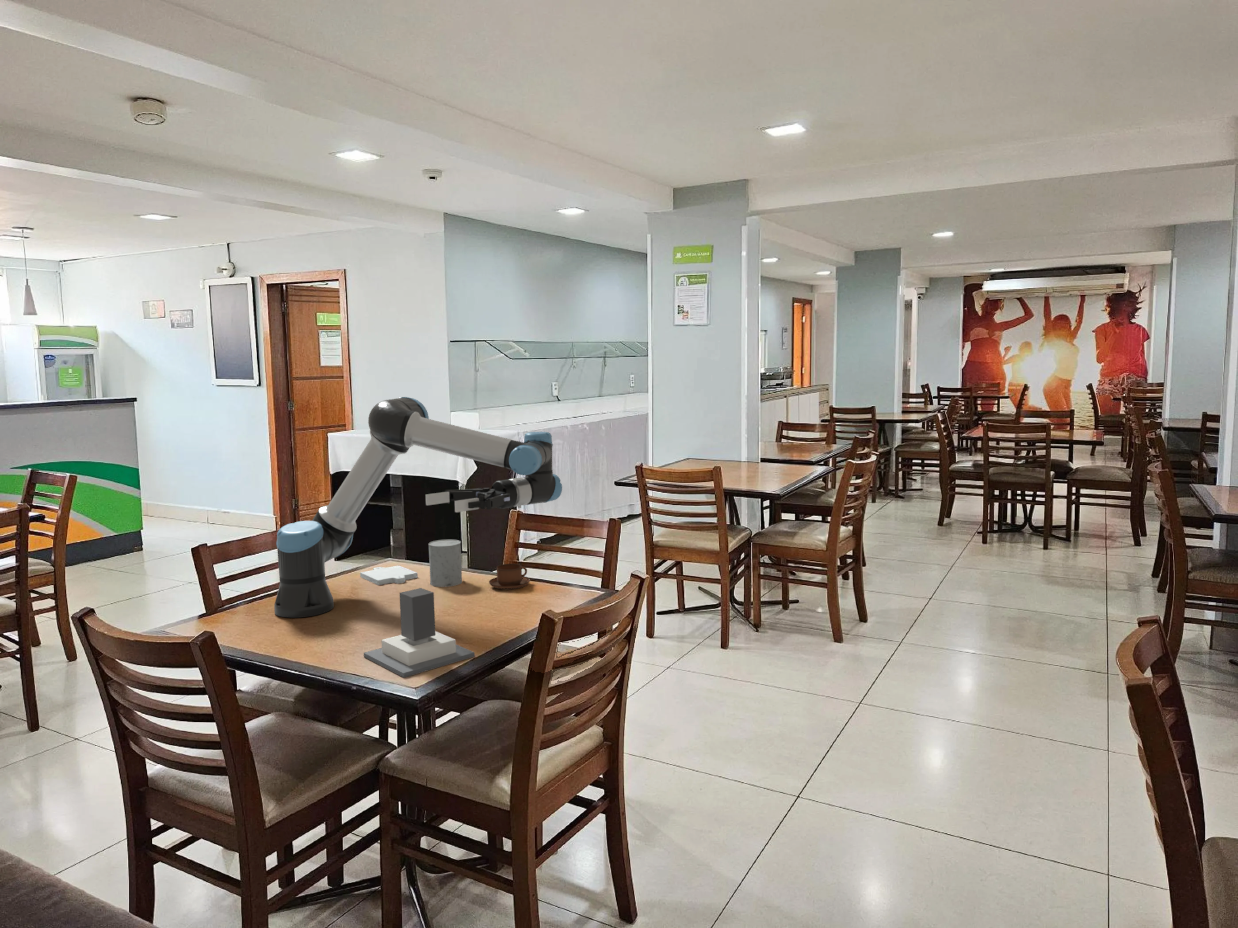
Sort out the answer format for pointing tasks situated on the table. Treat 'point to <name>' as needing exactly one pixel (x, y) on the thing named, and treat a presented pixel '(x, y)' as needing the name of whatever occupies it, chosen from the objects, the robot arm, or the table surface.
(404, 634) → the plug
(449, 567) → the grey cylinder
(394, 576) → the mounting plate
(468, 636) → the table surface
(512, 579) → the cup and saucer
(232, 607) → the table surface
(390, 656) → the socket
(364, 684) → the table surface
